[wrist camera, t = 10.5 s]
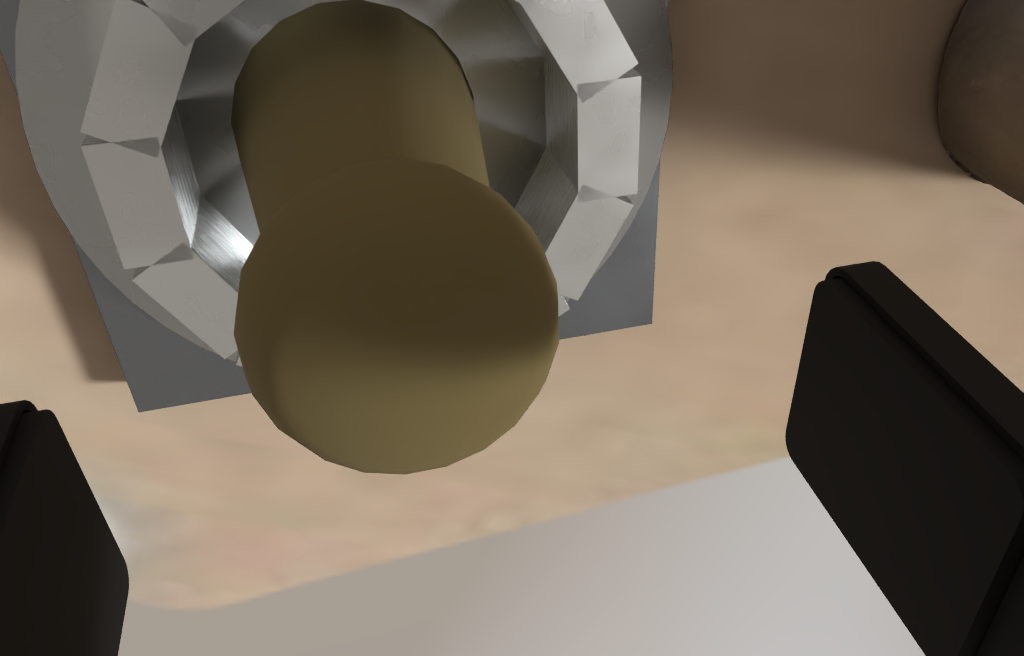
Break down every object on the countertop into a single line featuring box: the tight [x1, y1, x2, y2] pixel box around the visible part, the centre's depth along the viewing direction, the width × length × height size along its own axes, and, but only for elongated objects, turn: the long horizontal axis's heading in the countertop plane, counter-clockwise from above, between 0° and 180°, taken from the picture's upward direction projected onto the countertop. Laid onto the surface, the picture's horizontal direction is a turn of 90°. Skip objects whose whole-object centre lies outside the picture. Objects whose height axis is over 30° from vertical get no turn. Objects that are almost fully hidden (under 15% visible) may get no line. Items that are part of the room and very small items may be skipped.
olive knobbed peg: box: [231, 0, 559, 474], centre depth 17 cm, size 6×6×11 cm
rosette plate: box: [0, 0, 672, 412], centre depth 21 cm, size 16×16×5 cm
